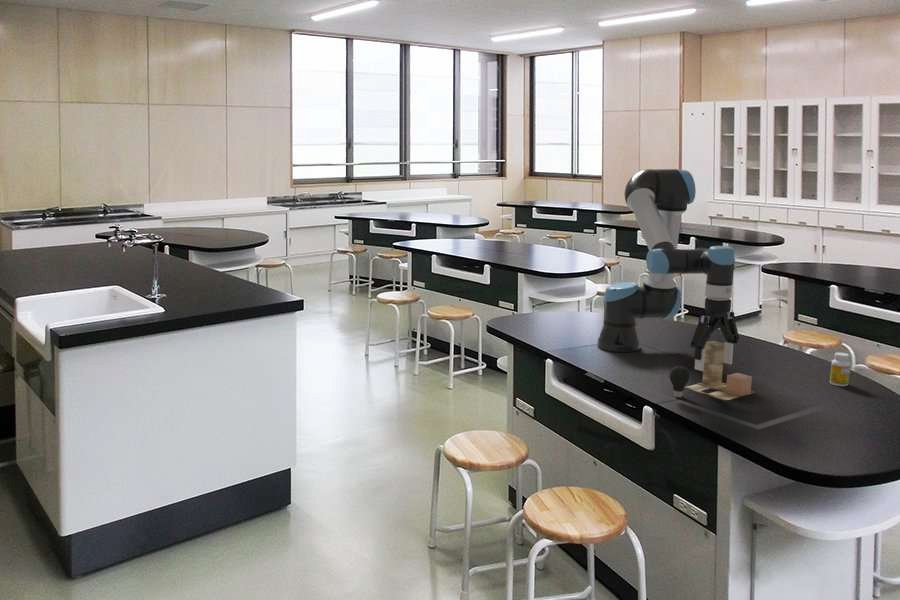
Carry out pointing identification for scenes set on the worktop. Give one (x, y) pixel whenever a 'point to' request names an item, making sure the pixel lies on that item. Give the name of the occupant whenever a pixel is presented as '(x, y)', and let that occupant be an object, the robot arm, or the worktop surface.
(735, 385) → the terracotta cube
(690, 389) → the lane rails
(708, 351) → the tan boxy piece
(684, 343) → the worktop surface
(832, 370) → the supplement bottle
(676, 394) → the light bulb
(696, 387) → the broken strip
